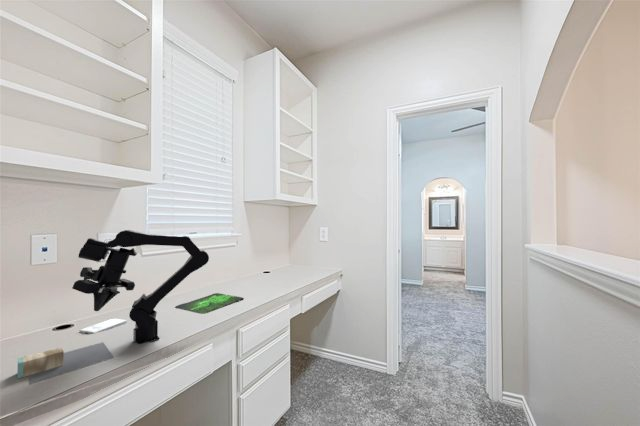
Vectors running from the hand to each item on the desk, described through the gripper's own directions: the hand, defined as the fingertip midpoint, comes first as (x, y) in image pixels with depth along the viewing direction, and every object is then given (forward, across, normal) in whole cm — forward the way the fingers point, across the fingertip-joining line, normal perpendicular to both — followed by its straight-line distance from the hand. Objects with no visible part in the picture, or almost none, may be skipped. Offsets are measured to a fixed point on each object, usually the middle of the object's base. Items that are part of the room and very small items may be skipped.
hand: (96, 310), depth 91 cm
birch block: (+12, +8, +2) cm, 14 cm away
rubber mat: (+13, +6, +4) cm, 15 cm away
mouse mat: (0, -53, +13) cm, 55 cm away
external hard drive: (+13, -19, -11) cm, 26 cm away
